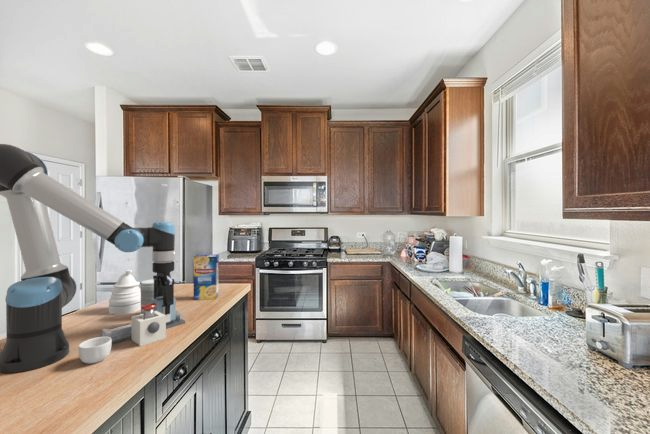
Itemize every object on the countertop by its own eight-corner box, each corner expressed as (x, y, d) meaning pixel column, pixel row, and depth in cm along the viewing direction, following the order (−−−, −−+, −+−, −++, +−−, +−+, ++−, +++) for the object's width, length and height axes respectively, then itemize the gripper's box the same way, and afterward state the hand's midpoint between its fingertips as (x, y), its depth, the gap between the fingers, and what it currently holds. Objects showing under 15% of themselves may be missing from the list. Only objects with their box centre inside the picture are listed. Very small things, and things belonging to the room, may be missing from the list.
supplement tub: (169, 315, 125) (169, 281, 125) (143, 320, 119) (143, 284, 118) (162, 309, 132) (162, 277, 132) (138, 314, 126) (138, 280, 125)
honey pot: (149, 307, 135) (149, 269, 135) (118, 316, 123) (118, 274, 123) (133, 303, 141) (133, 266, 141) (102, 311, 129) (102, 271, 129)
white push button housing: (140, 346, 95) (140, 322, 95) (131, 339, 100) (131, 316, 100) (166, 338, 101) (166, 315, 101) (156, 332, 107) (156, 310, 107)
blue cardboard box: (216, 299, 149) (216, 256, 149) (193, 300, 147) (193, 256, 147) (218, 295, 156) (218, 254, 156) (197, 296, 154) (197, 254, 154)
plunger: (144, 330, 98) (144, 308, 98) (139, 326, 101) (139, 305, 101) (158, 326, 101) (158, 304, 101) (153, 323, 104) (153, 302, 104)
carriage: (156, 324, 110) (156, 299, 110) (151, 321, 113) (151, 297, 113) (175, 319, 116) (175, 296, 116) (170, 316, 119) (170, 294, 118)
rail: (109, 344, 96) (109, 335, 96) (100, 336, 103) (100, 328, 103) (185, 323, 116) (185, 315, 116) (173, 317, 122) (173, 310, 122)
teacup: (100, 366, 83) (100, 347, 83) (71, 367, 82) (71, 348, 82) (121, 350, 93) (121, 333, 93) (95, 350, 92) (95, 334, 92)
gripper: (184, 262, 111) (183, 323, 112) (163, 258, 123) (163, 313, 123) (163, 265, 106) (162, 329, 106) (144, 260, 117) (143, 317, 117)
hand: (163, 320), depth 114 cm, fingers open, 5 cm apart
